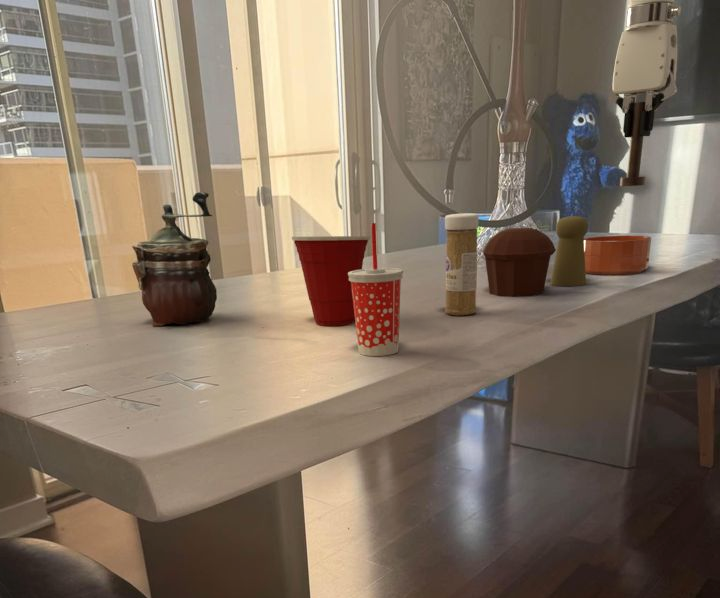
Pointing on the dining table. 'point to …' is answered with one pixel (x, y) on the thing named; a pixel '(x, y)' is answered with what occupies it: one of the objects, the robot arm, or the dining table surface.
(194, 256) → the coffee grinder
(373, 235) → the beverage cup
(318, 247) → the plastic cup
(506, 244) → the muffin
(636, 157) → the muddler
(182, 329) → the dining table surface
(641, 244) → the bowl
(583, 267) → the cork
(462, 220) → the sprinkles bottle
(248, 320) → the dining table surface
